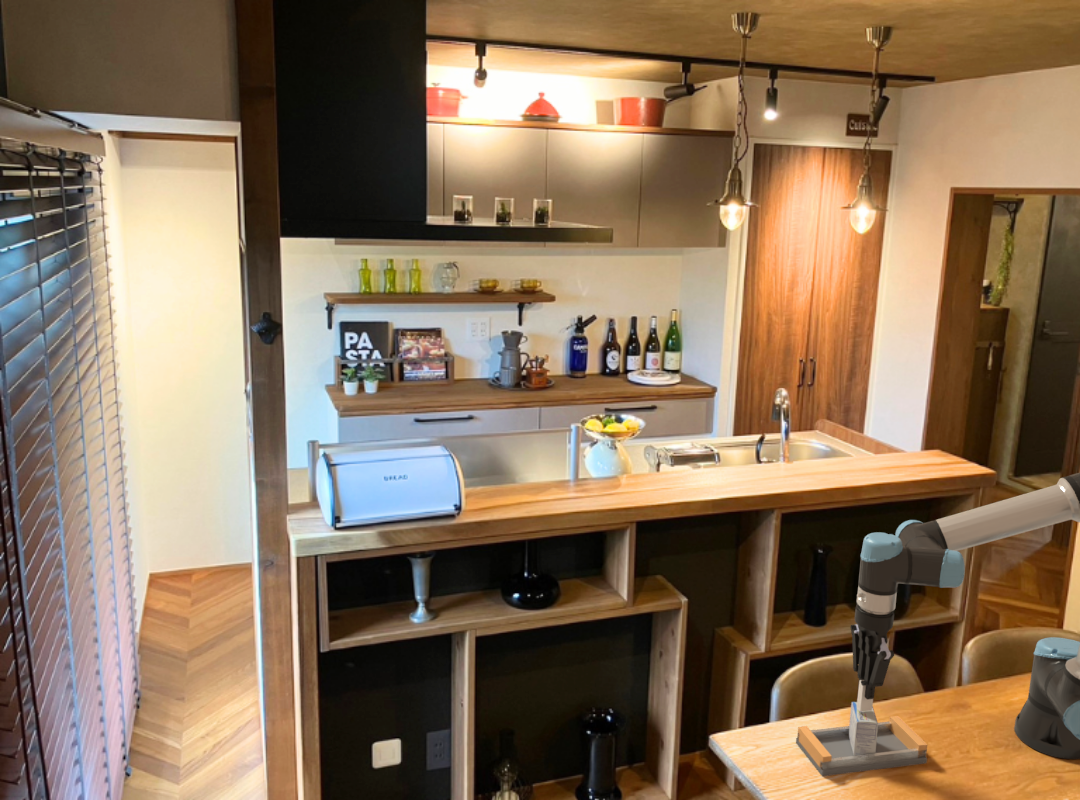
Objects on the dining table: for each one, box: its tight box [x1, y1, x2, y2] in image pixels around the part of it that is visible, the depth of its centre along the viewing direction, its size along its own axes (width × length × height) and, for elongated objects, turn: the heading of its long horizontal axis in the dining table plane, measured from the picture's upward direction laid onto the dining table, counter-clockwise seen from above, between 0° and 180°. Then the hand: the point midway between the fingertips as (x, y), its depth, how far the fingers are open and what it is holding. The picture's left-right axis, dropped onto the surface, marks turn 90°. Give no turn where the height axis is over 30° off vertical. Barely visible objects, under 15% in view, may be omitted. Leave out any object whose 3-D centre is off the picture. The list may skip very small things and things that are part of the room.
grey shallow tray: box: [795, 715, 928, 777], centre depth 191 cm, size 24×12×4 cm, turn 101°
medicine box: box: [848, 701, 879, 756], centre depth 191 cm, size 8×4×9 cm, turn 169°
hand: (864, 708), depth 189 cm, fingers closed
